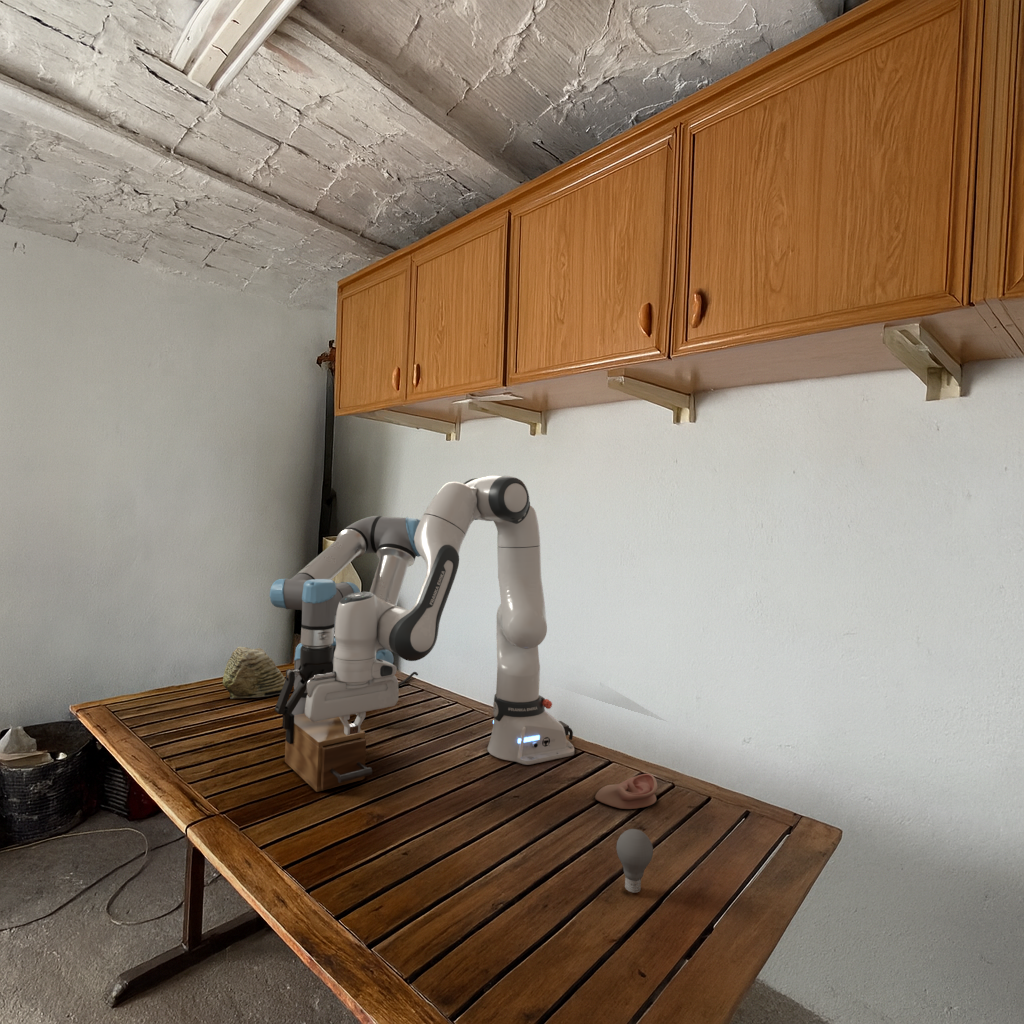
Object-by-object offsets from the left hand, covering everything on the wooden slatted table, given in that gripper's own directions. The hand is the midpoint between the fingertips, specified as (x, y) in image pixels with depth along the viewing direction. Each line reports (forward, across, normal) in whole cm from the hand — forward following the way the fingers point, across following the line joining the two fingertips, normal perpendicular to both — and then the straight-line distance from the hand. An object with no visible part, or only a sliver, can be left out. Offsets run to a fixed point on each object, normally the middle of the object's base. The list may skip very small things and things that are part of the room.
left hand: (313, 736), depth 151 cm
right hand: (-7, 0, -20) cm, 21 cm away
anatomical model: (+6, +48, -56) cm, 74 cm away
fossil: (+6, +5, +57) cm, 58 cm away
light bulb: (+6, +23, -78) cm, 82 cm away
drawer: (+5, 0, -11) cm, 12 cm away
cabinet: (+6, 0, -6) cm, 8 cm away
